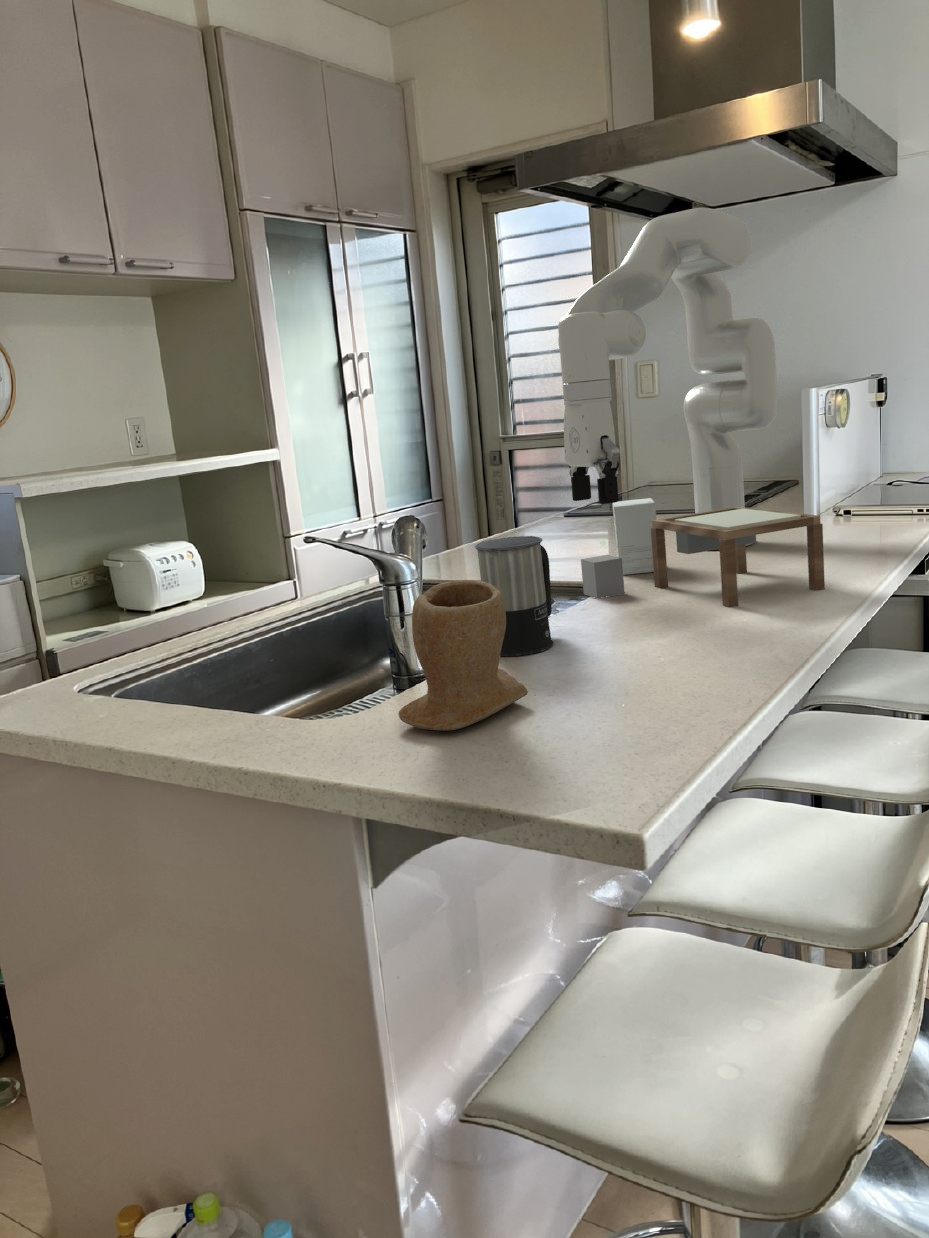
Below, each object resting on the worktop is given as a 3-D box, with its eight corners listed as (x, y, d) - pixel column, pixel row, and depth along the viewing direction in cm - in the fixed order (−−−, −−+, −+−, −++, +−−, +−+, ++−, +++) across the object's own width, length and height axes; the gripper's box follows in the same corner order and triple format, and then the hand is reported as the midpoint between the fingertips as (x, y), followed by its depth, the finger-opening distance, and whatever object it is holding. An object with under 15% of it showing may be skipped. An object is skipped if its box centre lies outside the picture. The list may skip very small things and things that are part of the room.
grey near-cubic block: (583, 594, 169) (580, 559, 168) (610, 589, 171) (607, 554, 169) (597, 598, 164) (594, 562, 163) (624, 593, 166) (621, 557, 165)
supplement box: (657, 565, 188) (652, 497, 185) (660, 572, 181) (655, 501, 178) (617, 568, 189) (611, 501, 186) (619, 576, 182) (613, 505, 179)
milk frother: (548, 656, 133) (537, 544, 130) (432, 662, 136) (419, 553, 133) (561, 629, 146) (551, 528, 143) (455, 636, 150) (443, 537, 147)
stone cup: (466, 746, 102) (449, 601, 98) (385, 730, 110) (367, 595, 107) (557, 703, 112) (545, 570, 109) (478, 691, 120) (464, 567, 117)
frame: (654, 586, 169) (650, 520, 166) (741, 570, 173) (738, 506, 171) (728, 607, 148) (724, 532, 146) (824, 588, 153) (822, 515, 151)
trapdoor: (676, 552, 164) (674, 519, 163) (744, 540, 168) (743, 508, 166) (729, 562, 150) (727, 527, 149) (802, 549, 154) (800, 515, 152)
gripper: (543, 398, 168) (552, 501, 171) (589, 393, 151) (597, 507, 155) (585, 394, 170) (592, 496, 173) (634, 388, 154) (641, 501, 157)
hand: (595, 501), depth 164 cm, fingers open, 9 cm apart
